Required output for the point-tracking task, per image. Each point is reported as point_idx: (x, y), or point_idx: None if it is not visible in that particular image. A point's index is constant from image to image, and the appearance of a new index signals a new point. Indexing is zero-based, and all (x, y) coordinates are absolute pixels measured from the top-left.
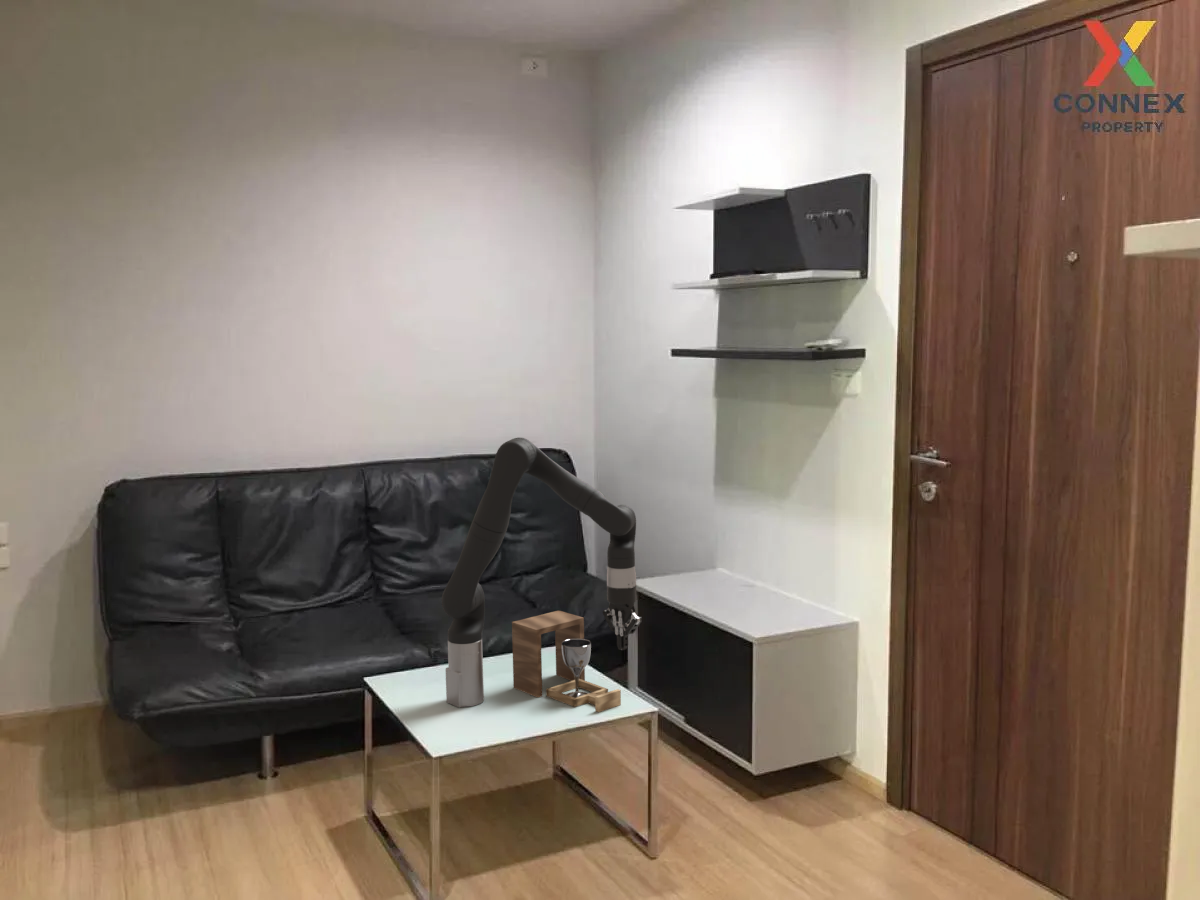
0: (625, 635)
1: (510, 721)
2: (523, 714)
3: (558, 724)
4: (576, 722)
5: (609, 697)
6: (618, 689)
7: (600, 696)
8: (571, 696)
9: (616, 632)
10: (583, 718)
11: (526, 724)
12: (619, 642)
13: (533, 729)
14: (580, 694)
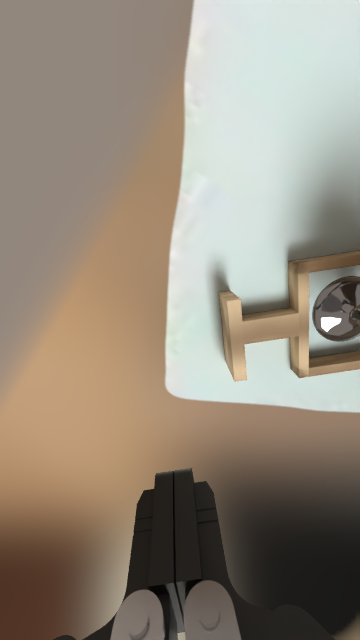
0: (109, 625)
1: (333, 14)
2: (349, 95)
3: (213, 146)
4: (195, 202)
5: (228, 339)
6: (242, 379)
7: (229, 311)
8: (348, 291)
9: (206, 616)
10: (208, 235)
11: (276, 51)
12: (173, 515)
13: (227, 46)
14: (337, 314)
